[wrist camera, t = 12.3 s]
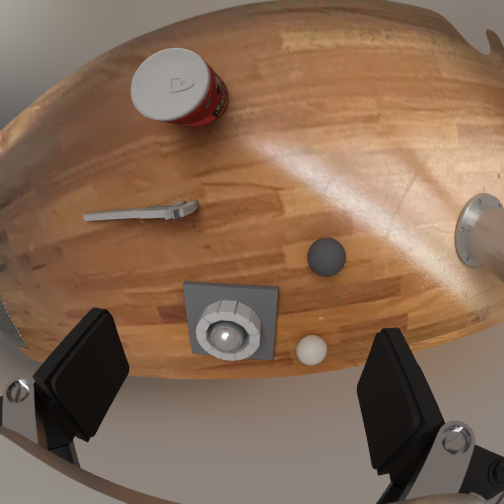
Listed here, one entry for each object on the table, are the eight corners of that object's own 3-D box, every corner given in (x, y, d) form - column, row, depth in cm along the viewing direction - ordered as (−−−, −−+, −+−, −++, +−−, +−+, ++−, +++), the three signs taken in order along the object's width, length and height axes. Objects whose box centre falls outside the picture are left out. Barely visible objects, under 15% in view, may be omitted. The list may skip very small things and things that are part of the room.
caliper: (198, 198, 36) (184, 209, 30) (199, 206, 36) (185, 218, 31) (84, 213, 38) (60, 225, 32) (85, 219, 39) (62, 232, 33)
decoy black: (343, 233, 36) (352, 247, 31) (338, 267, 38) (346, 283, 33) (307, 231, 36) (311, 244, 32) (304, 265, 38) (307, 282, 33)
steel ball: (246, 315, 40) (239, 336, 36) (246, 339, 42) (240, 361, 38) (214, 310, 41) (204, 330, 37) (216, 335, 43) (207, 355, 39)
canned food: (233, 119, 31) (215, 109, 21) (174, 133, 33) (135, 131, 22) (224, 66, 29) (202, 36, 19) (166, 81, 30) (126, 63, 20)
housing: (278, 286, 40) (278, 301, 36) (272, 356, 45) (272, 372, 41) (184, 280, 41) (176, 294, 37) (193, 349, 46) (188, 364, 42)
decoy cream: (327, 328, 42) (332, 349, 37) (322, 351, 44) (325, 371, 39) (297, 328, 42) (298, 348, 38) (293, 350, 44) (294, 371, 40)
